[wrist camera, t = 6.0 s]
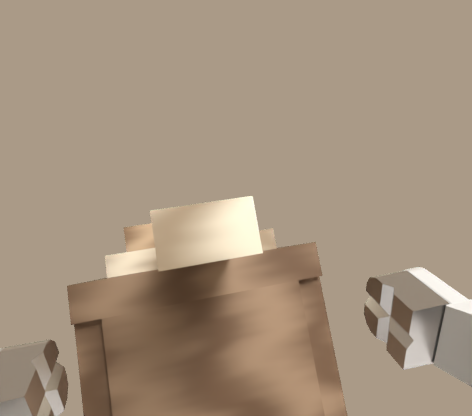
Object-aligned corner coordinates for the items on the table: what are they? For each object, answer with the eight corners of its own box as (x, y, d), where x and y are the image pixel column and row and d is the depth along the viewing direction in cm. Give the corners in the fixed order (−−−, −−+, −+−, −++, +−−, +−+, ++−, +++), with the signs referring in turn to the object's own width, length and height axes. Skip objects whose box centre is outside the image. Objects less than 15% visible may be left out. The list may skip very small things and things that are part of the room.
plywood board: (13, 297, 10) (1, 153, 11) (136, 272, 37) (131, 232, 38) (375, 233, 12) (348, 116, 13) (241, 253, 40) (234, 216, 40)
